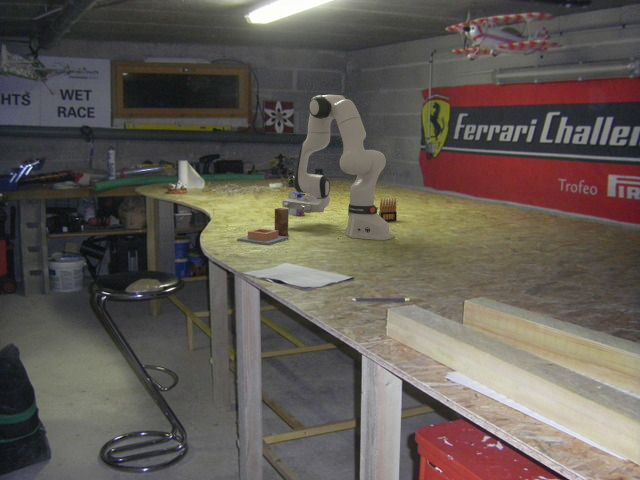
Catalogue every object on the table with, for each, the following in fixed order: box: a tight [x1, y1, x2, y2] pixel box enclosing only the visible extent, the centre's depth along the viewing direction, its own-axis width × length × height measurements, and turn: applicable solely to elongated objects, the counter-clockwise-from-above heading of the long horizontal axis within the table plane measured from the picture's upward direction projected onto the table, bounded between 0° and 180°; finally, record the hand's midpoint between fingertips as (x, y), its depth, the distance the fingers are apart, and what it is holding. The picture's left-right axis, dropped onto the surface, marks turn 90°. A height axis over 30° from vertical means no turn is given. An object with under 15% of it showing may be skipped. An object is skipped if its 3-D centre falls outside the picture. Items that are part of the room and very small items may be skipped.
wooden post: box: [274, 207, 289, 237], centre depth 285 cm, size 4×4×12 cm
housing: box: [236, 227, 289, 246], centre depth 272 cm, size 16×16×4 cm
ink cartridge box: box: [287, 189, 306, 217], centre depth 344 cm, size 10×6×14 cm, turn 33°
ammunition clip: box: [378, 198, 398, 223], centre depth 330 cm, size 11×2×12 cm, turn 120°
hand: (294, 207), depth 294 cm, fingers open, 8 cm apart
